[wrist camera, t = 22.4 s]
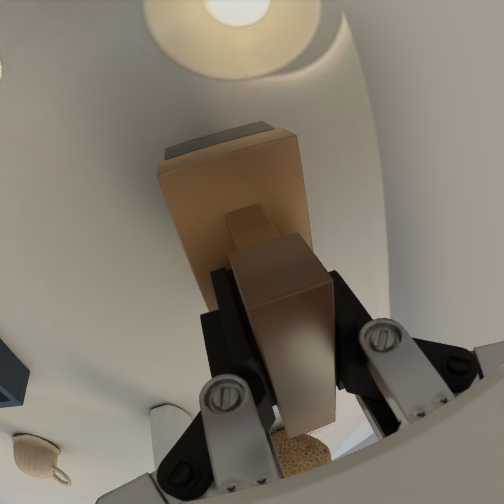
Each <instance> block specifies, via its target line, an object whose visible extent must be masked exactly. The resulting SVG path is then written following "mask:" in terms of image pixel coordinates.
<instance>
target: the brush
mask: <svg viewBox="0 0 504 504" xmlns="http://www.w3.org/2000/svg"><path fill="white" fill-rule="evenodd" d="M157 178H158V181H159V184H160V186H161V189H162V192H163V195H164V198H165V200H166V203H167V206H168V209H169V211H170V214H171V217H172V220H173V222H174V225H175V228H176V230H177V233H178V235H179V238H180V241H181V243H182V246H183V248H184V251H185V254H186V256H187V259H188V261H189V264H190V266H191V269H192V271H193V274H194V276H195V279H196V281H197V284H198V286H199V288H200V291H201V293H202V296H203V298H204V301H205V303H206V305H207V308H208V310H209V312H211V311H214V310H217V309H219V308H218V304H217V300H216V296H215V292H214V288H213V284H212V280H211V275H210V272H211V271H214V270H217V269H220V268H223V267H225V269H226V271H228V270H231V269H232V270H233V273H234V277H235V280H236V283H237V286H238V289H239V293H240V296H241V299H242V302H243V305H244V308H245V311H246V314H247V317H248V320H249V323H250V326H251V329H252V332H253V335H254V337H255V340H256V343H257V346H258V349H259V352H260V355H261V358H262V361H263V364H264V367H265V370H266V373H267V376H268V379H269V382H270V385H271V388H272V391H273V394H274V397H275V400H276V403H277V408H278V411H279V413H280V416H281V419H282V422H283V424H284V427H285V430H286V433H287V435H288V437H289V438H292V437H295V436H298V435H301V434H304V433H307V432H309V431H312V430H315V429H317V428H320V427H323V426H325V425H328V424H330V423H333V422H335V410H336V340H335V308H334V286H333V278H332V277H331V276H330V274H329V273H328V272H327V270H326V269H325V267H324V266H323V265H322V263H321V262H320V261H319V259H318V258H317V257H316V255H315V254H314V253H313V247H312V239H311V230H310V222H309V215H308V207H307V200H306V193H305V186H304V179H303V172H302V166H301V159H300V153H299V147H298V141H297V136H296V135H295V134H293V133H291V132H289V131H287V130H285V129H284V128H278V129H275V128H274V127H272V126H270V125H268V124H267V123H265V122H263V121H260V122H256V123H252V124H248V125H244V126H240V127H236V128H233V129H229V130H225V131H221V132H218V133H214V134H211V135H207V136H204V137H201V138H197V139H194V140H191V141H187V142H184V143H181V144H178V145H175V146H172V147H169V148H166V149H165V154H164V161H162V162H159V163H158V171H157Z"/></svg>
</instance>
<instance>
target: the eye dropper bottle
mask: <svg viewBox="0 0 504 504" xmlns="http://www.w3.org/2000/svg"><path fill="white" fill-rule="evenodd" d="M192 421H193V420H192V418H191V416H190V415H189V414H188V413H187V412H185V411H184V410H182V409H180V408H178V407H175V406H172V405H163V406H160V407H157V408H153V409H152V410H151V411H150V423H151V434H152V445H153V454H154V462H155V469H156V470H157V469H158V467H159V465H160V463H161V461H162V460H163V459H164V458H165V456H166V455H167V454H168V452H169V451H170V450H171V449H172V447H173V446H174V445H175V443H176V442H177V441H178V440H179V438H180V437H181V436H182V434H183V433H184V432H185V430H186V429H187V428H188V426H189V425H190V424H191V423H192Z"/></svg>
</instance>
